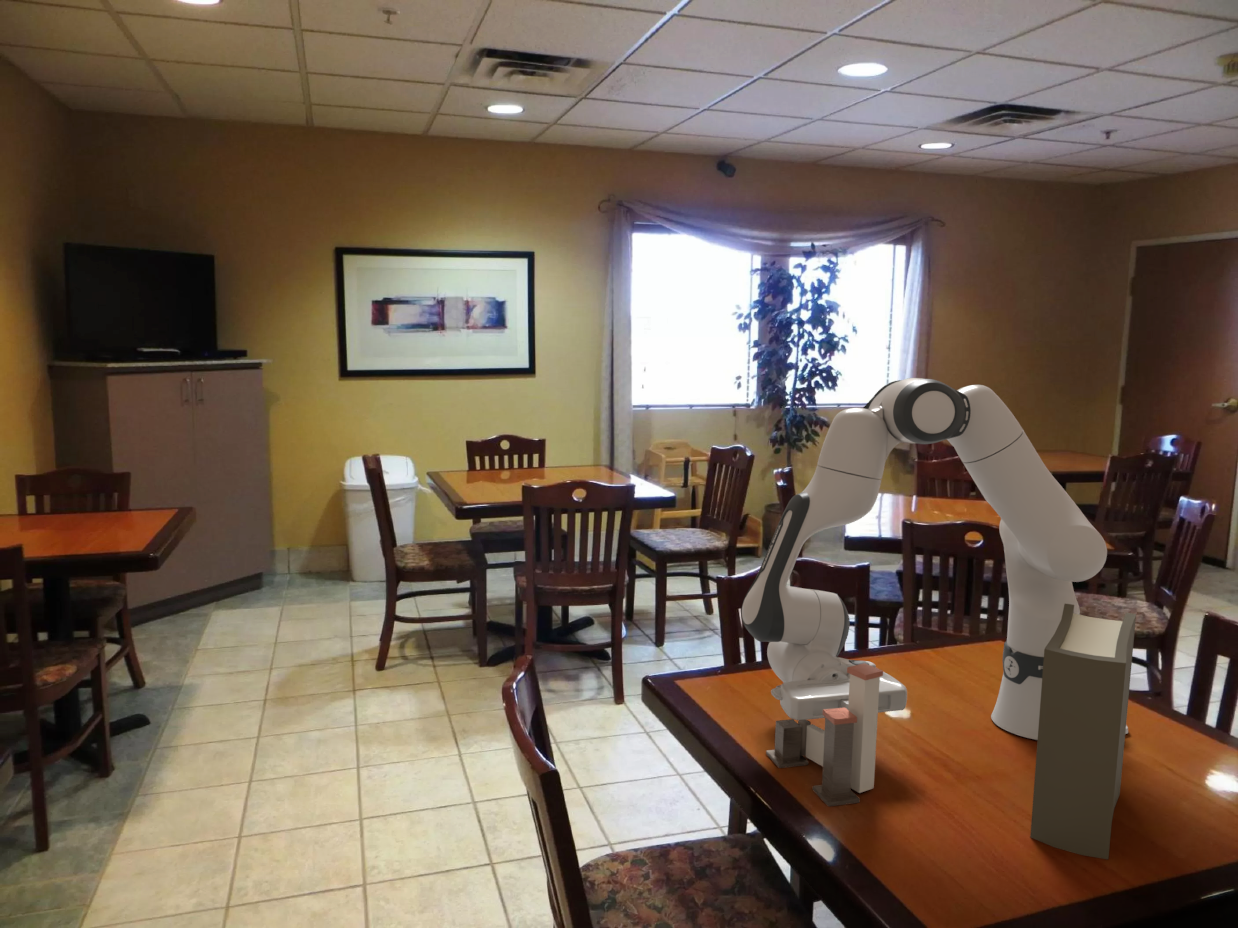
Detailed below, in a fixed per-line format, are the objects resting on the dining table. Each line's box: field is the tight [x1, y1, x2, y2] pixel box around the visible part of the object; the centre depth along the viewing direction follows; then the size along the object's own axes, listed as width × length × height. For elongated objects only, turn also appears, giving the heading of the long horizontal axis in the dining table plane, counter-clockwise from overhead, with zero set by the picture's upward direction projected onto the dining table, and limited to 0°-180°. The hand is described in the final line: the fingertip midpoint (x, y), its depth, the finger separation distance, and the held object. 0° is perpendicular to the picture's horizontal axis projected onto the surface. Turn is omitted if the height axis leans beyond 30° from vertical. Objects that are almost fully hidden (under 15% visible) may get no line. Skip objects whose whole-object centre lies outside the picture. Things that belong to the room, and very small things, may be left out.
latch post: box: [812, 707, 861, 807], centre depth 130 cm, size 5×5×13 cm
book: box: [1029, 604, 1137, 860], centre depth 124 cm, size 22×9×28 cm, turn 147°
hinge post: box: [765, 718, 809, 769], centre depth 142 cm, size 5×5×6 cm
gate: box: [797, 663, 884, 794], centre depth 136 cm, size 15×4×18 cm, turn 32°
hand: (868, 717), depth 133 cm, fingers closed
